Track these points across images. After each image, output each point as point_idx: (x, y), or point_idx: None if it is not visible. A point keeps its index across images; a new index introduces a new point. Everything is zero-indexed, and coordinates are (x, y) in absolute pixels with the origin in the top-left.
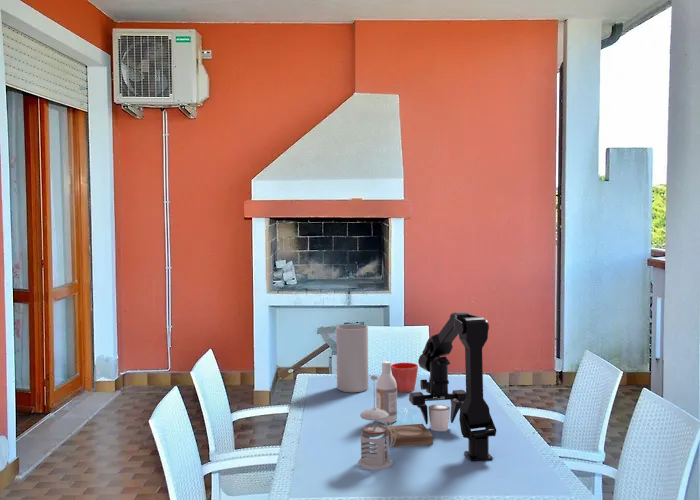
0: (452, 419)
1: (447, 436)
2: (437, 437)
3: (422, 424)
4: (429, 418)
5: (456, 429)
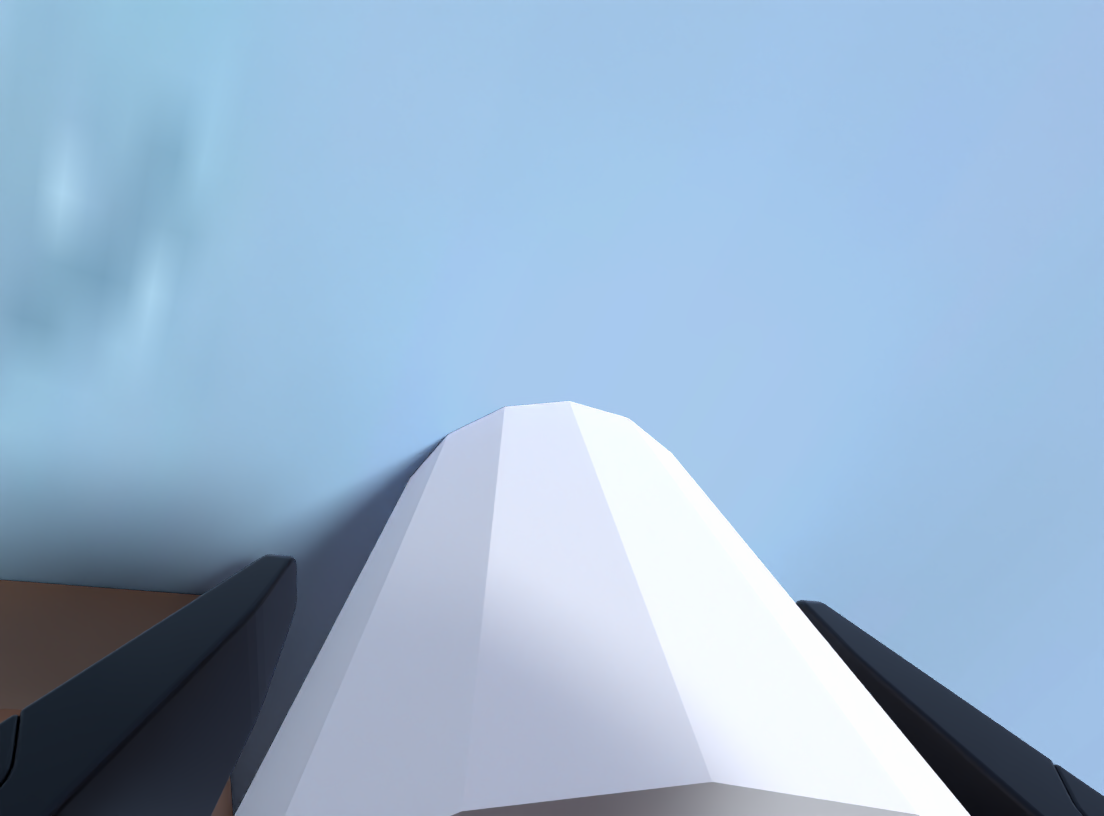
0: None
1: None
2: None
3: None
4: (347, 599)
5: None
